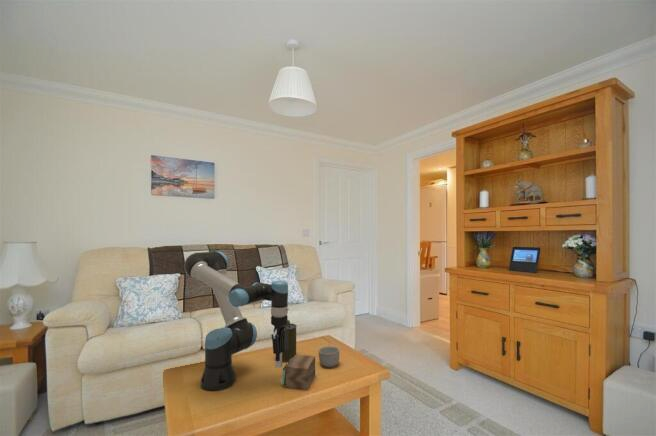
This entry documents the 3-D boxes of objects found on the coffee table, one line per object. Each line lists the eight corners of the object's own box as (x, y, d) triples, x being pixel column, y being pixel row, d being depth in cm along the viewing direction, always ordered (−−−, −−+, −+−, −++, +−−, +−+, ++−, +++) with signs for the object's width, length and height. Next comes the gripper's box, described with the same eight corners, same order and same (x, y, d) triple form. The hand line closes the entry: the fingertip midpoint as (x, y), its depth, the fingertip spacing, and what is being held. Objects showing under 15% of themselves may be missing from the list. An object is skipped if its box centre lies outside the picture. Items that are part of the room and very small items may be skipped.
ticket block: (285, 387, 141) (285, 366, 141) (295, 373, 155) (295, 354, 155) (307, 390, 139) (307, 368, 139) (315, 375, 153) (315, 356, 153)
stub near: (283, 384, 142) (281, 384, 142) (287, 379, 147) (284, 378, 147) (285, 369, 142) (282, 368, 142) (289, 364, 147) (286, 363, 147)
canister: (278, 354, 178) (277, 318, 178) (296, 354, 179) (296, 318, 179) (276, 363, 167) (276, 324, 167) (296, 362, 168) (296, 324, 169)
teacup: (337, 370, 158) (337, 354, 158) (316, 368, 160) (316, 352, 160) (341, 359, 172) (341, 344, 172) (322, 357, 174) (322, 342, 174)
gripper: (282, 320, 138) (281, 374, 138) (291, 311, 151) (290, 361, 151) (266, 318, 140) (265, 372, 140) (276, 310, 153) (275, 360, 152)
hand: (278, 366), depth 145 cm, fingers closed
